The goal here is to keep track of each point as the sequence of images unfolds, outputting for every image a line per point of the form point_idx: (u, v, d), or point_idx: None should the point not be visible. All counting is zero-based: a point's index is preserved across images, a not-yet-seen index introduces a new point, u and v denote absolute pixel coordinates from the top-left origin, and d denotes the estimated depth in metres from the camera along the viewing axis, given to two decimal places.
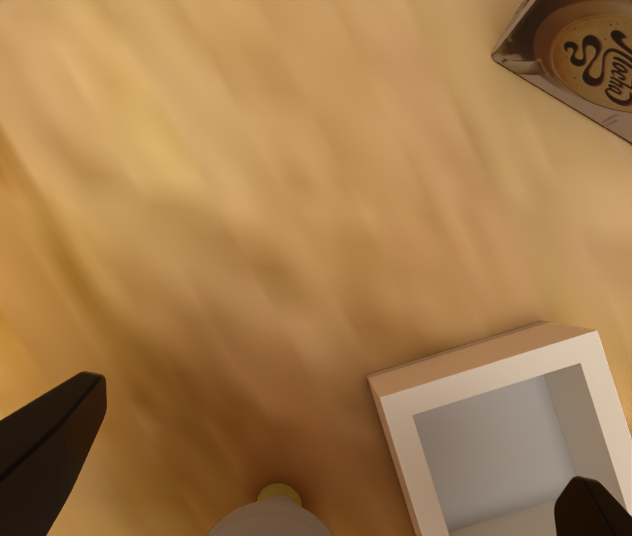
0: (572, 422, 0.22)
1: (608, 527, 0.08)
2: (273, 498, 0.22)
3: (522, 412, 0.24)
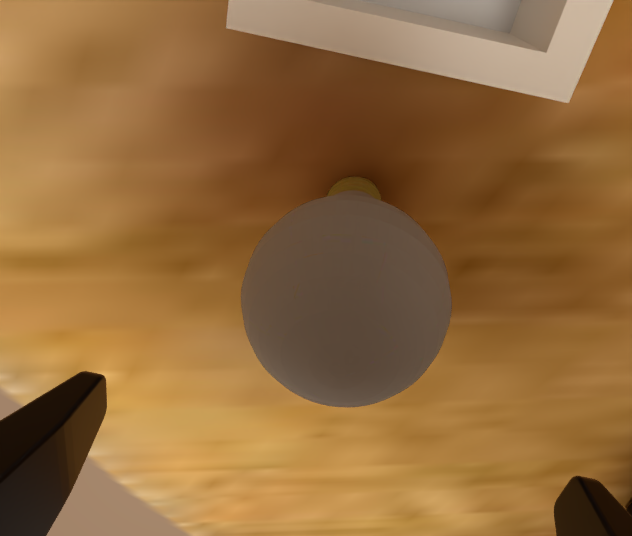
0: None
1: (608, 527, 0.08)
2: None
3: None
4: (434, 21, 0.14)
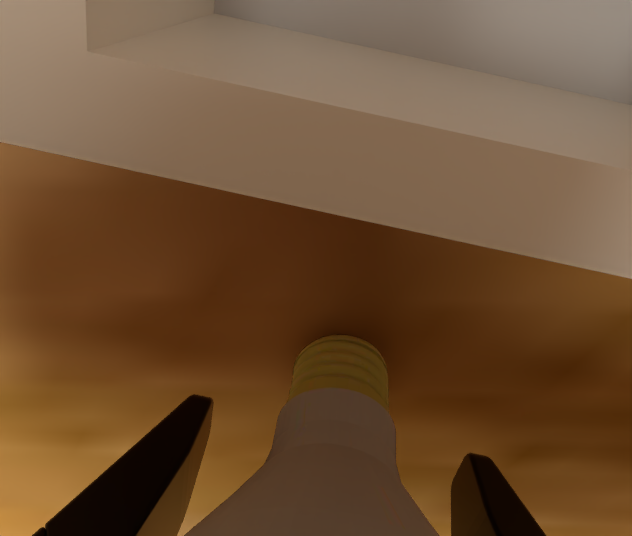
0: None
1: (487, 501, 0.08)
2: (278, 422, 0.10)
3: None
4: (514, 101, 0.06)
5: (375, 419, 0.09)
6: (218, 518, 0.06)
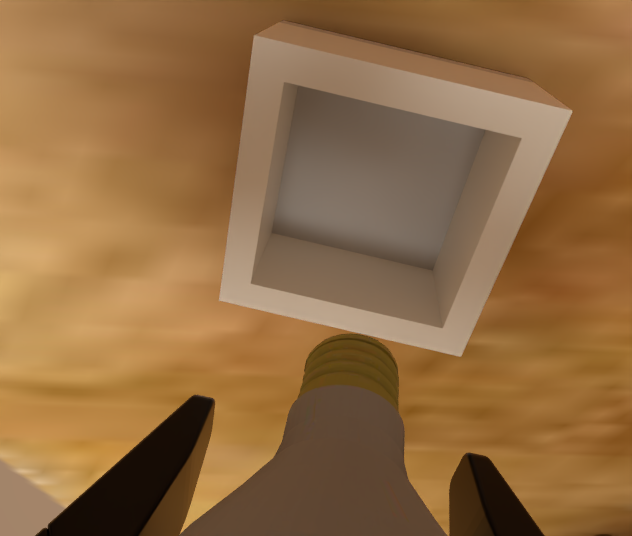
0: None
1: (485, 501, 0.08)
2: (288, 417, 0.10)
3: (365, 119, 0.19)
4: (371, 280, 0.20)
5: (384, 417, 0.09)
6: (227, 505, 0.07)
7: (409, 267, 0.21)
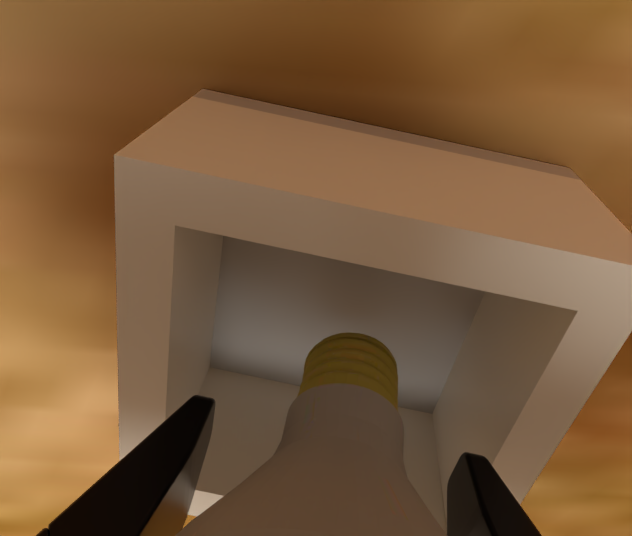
0: None
1: (482, 500, 0.08)
2: (287, 416, 0.10)
3: None
4: None
5: (383, 415, 0.09)
6: (226, 503, 0.07)
7: (400, 412, 0.15)
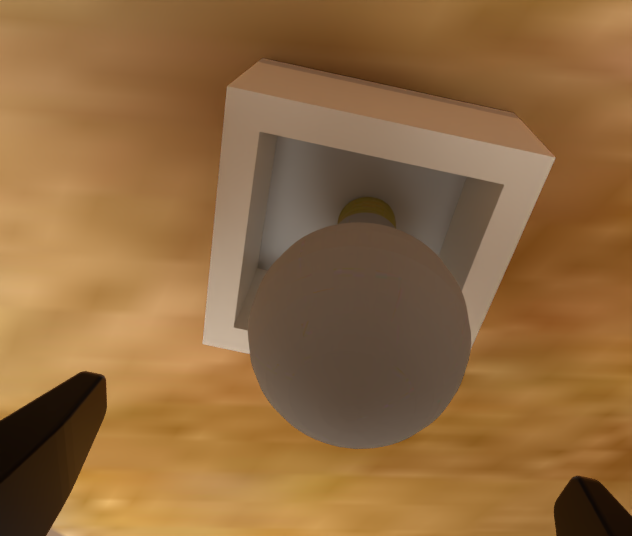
0: None
1: (608, 527, 0.08)
2: None
3: (348, 156, 0.18)
4: None
5: (388, 226, 0.16)
6: None
7: None
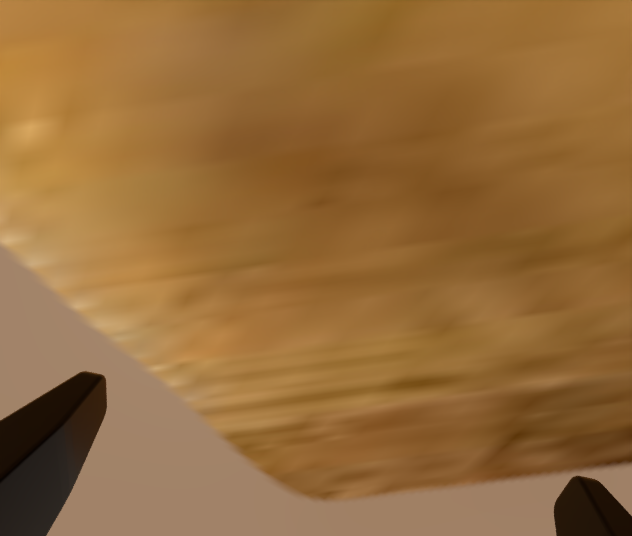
0: None
1: (608, 527, 0.08)
2: None
3: None
4: None
5: None
6: None
7: None
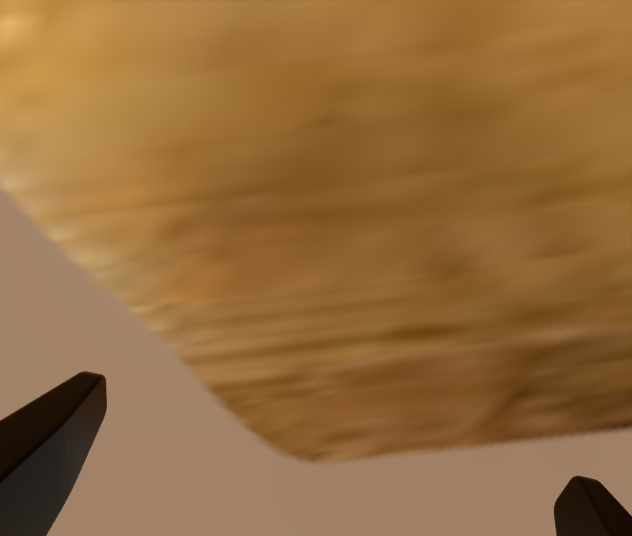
0: None
1: (608, 527, 0.08)
2: None
3: None
4: None
5: None
6: None
7: None
